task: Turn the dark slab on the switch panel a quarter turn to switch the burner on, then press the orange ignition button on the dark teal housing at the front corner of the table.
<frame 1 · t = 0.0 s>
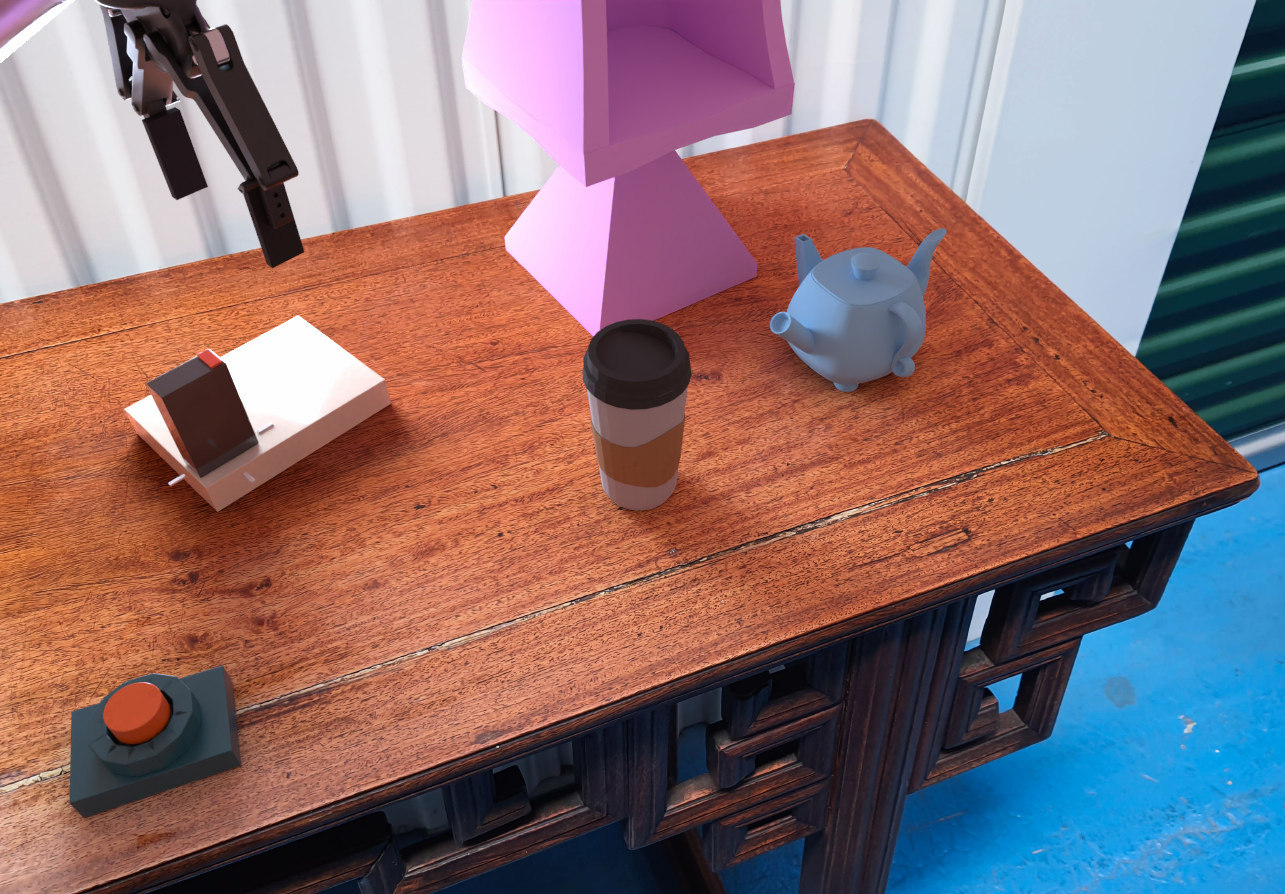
hand: (236, 224, 76), 21 cm above the table, tool pointing down, fingers open, 13 cm apart
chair: (628, 264, 108), on the table
ignition button: (137, 713, 65), point 4 cm above the table, slide at 0.1 cm
teapot: (844, 355, 97), on the table
switch panel: (265, 418, 91), on the table
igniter: (161, 746, 68), on the table
dark slab: (204, 413, 80), point 8 cm above the table, hinge at 0.0°
coffee cup: (639, 486, 85), on the table
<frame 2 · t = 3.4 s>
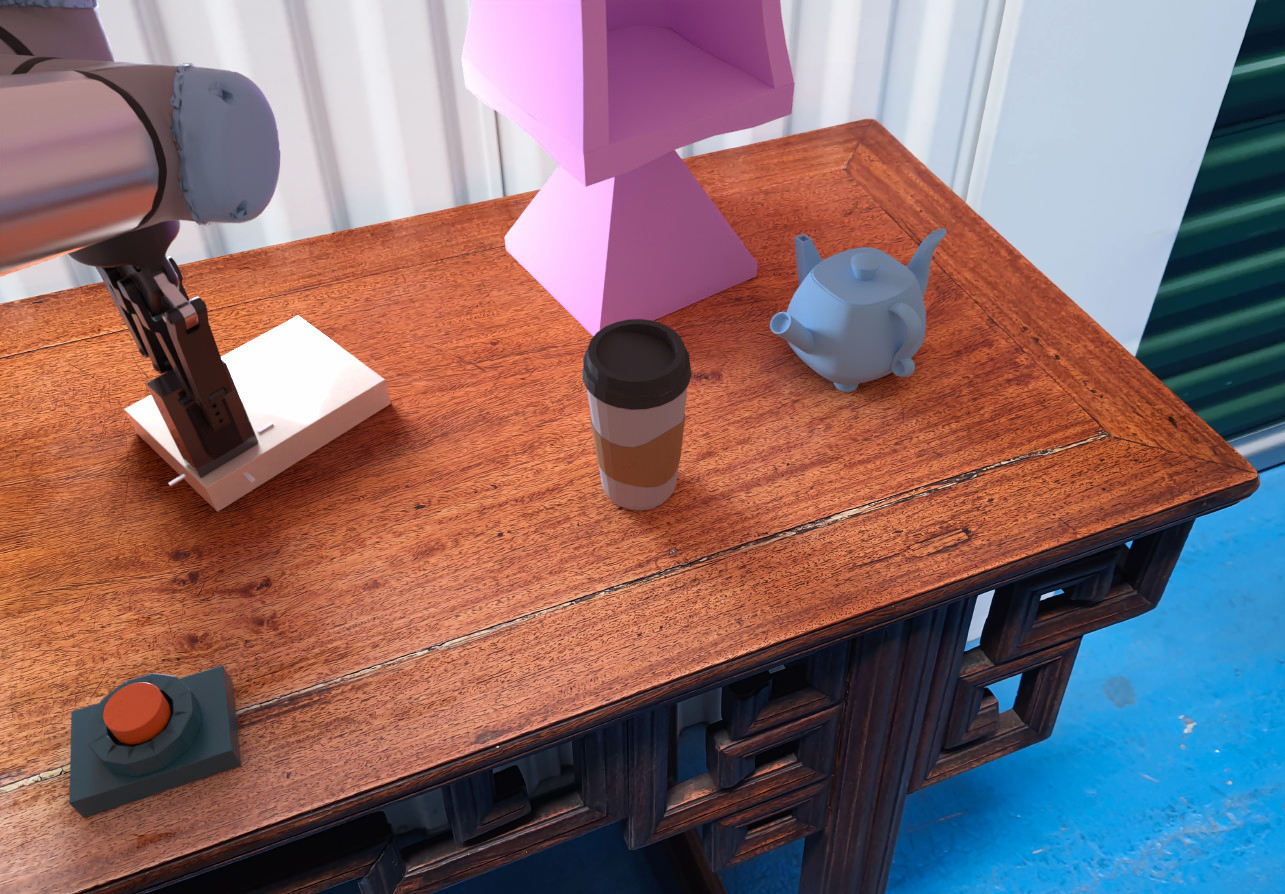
hand: (216, 439, 82), 5 cm above the table, tool pointing down, fingers closed on dark slab, 2 cm apart
dark slab: (204, 413, 80), point 8 cm above the table, hinge at -0.1°, touching gripper
everything else where it was.
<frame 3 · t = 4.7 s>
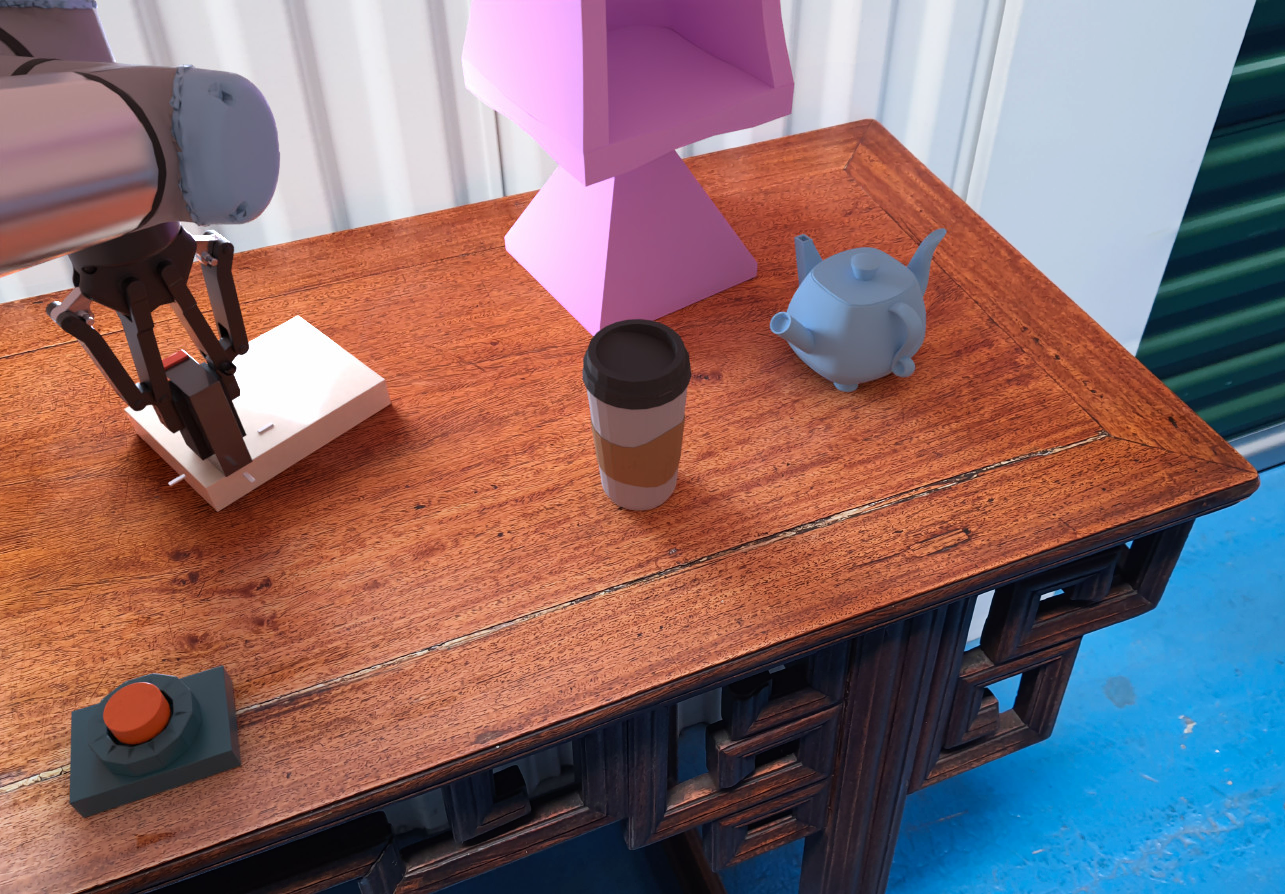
hand: (216, 439, 82), 5 cm above the table, tool pointing down, fingers closed on dark slab, 2 cm apart
dark slab: (204, 413, 80), point 8 cm above the table, hinge at 89.5°, touching gripper
everything else where it was.
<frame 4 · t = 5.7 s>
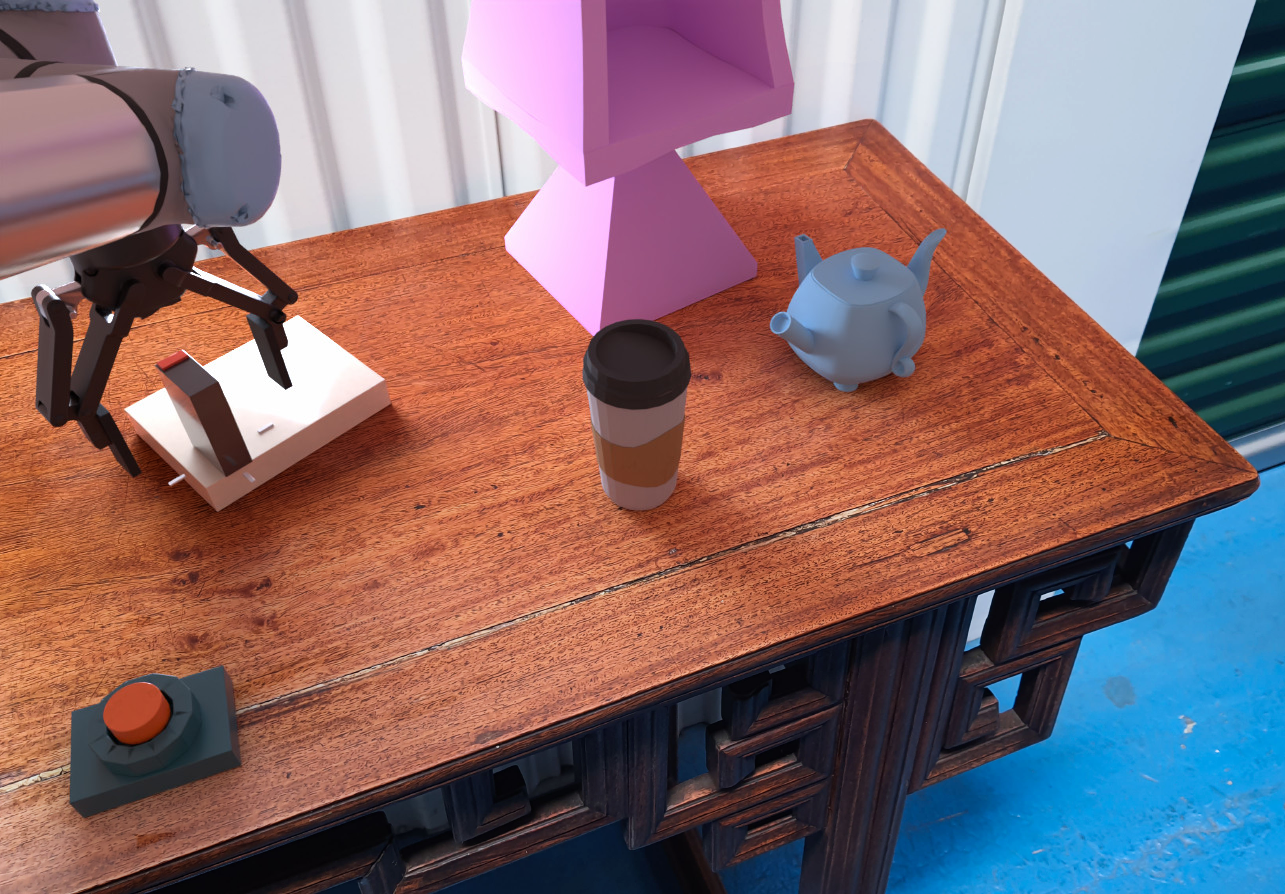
hand: (208, 422, 81), 7 cm above the table, tool pointing down, fingers open, 13 cm apart
dark slab: (204, 413, 80), point 8 cm above the table, hinge at 89.6°
everything else where it was.
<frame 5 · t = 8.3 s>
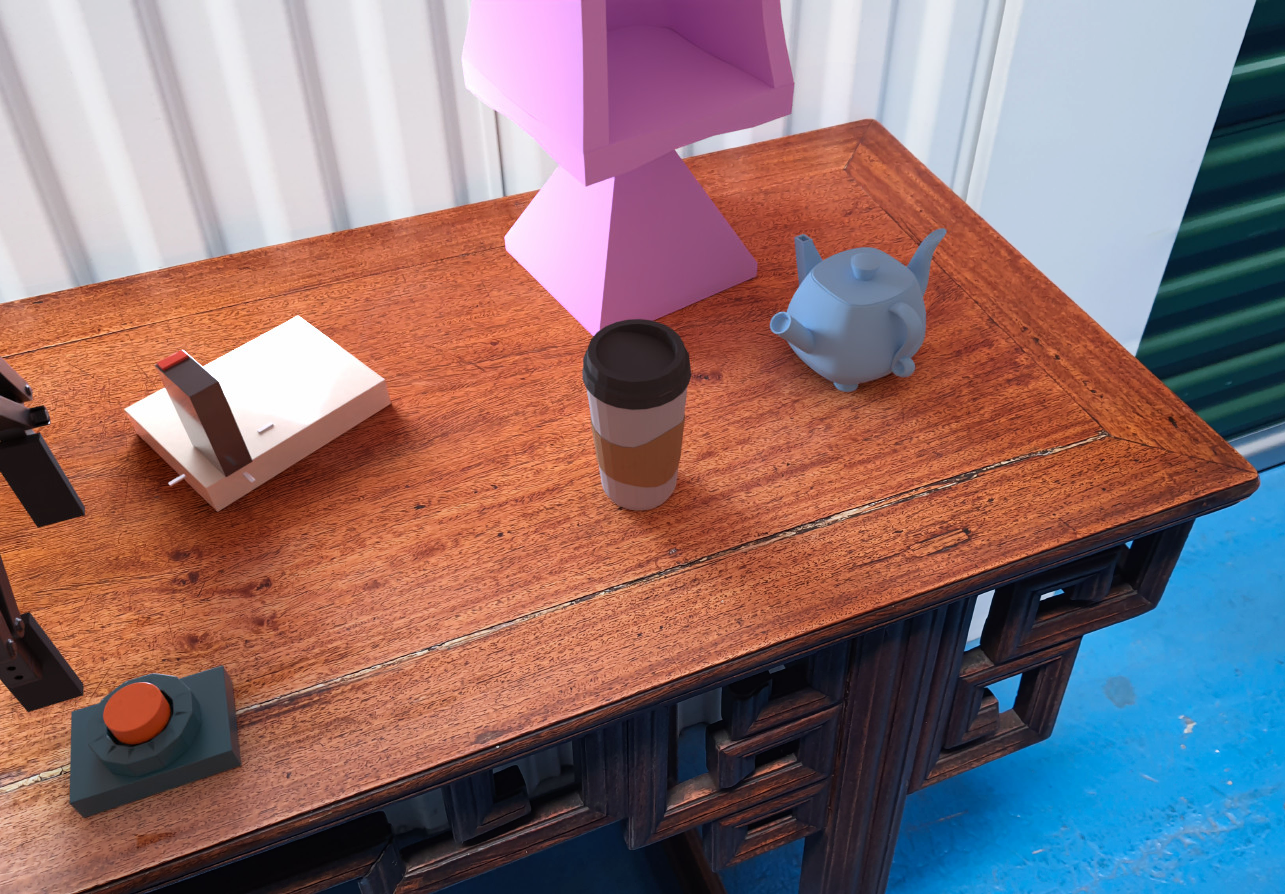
hand: (59, 601, 57), 16 cm above the table, tool pointing down, fingers open, 13 cm apart
nothing on the table moved.
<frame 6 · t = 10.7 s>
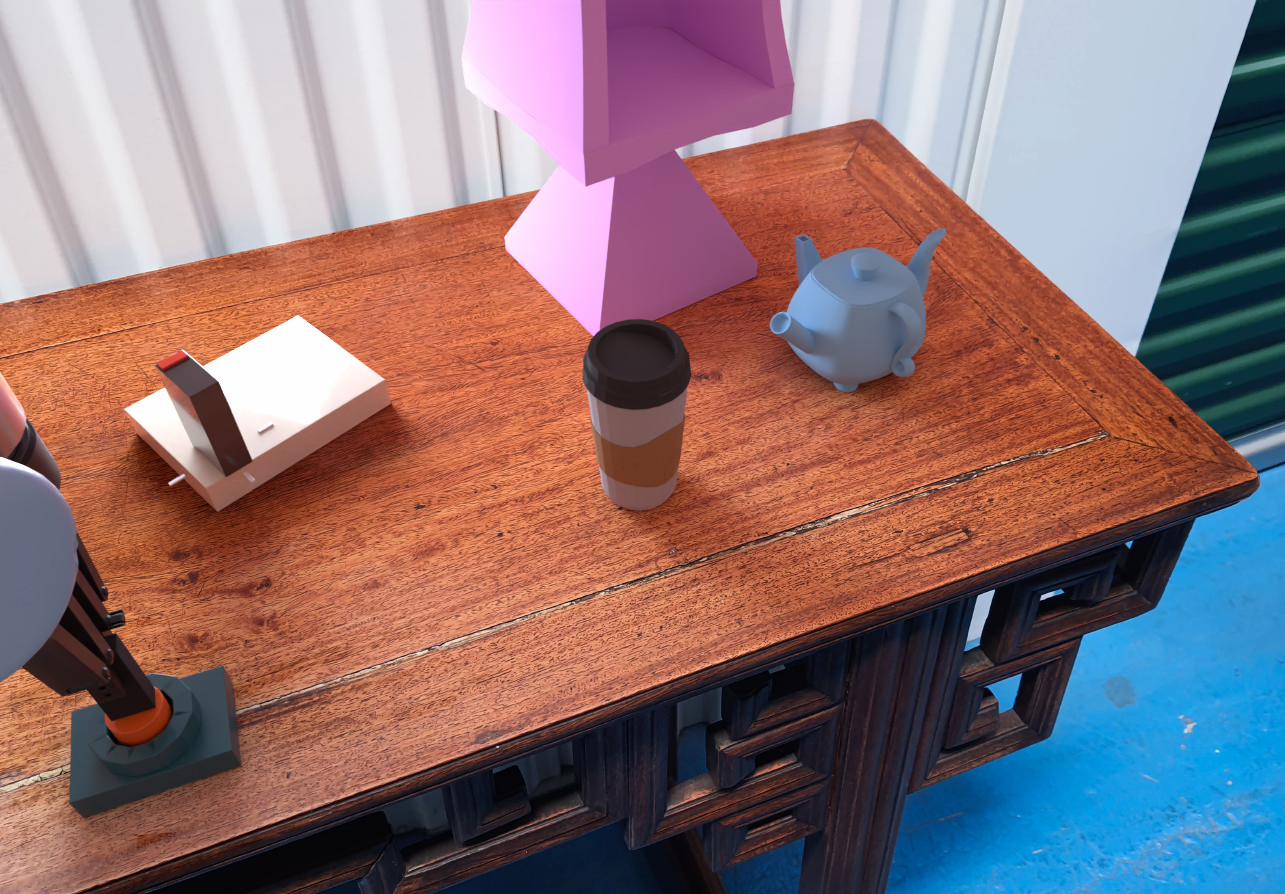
hand: (133, 704, 64), 5 cm above the table, tool pointing down, fingers closed
ignition button: (138, 715, 65), point 4 cm above the table, slide at -0.1 cm, touching gripper
everything else where it was.
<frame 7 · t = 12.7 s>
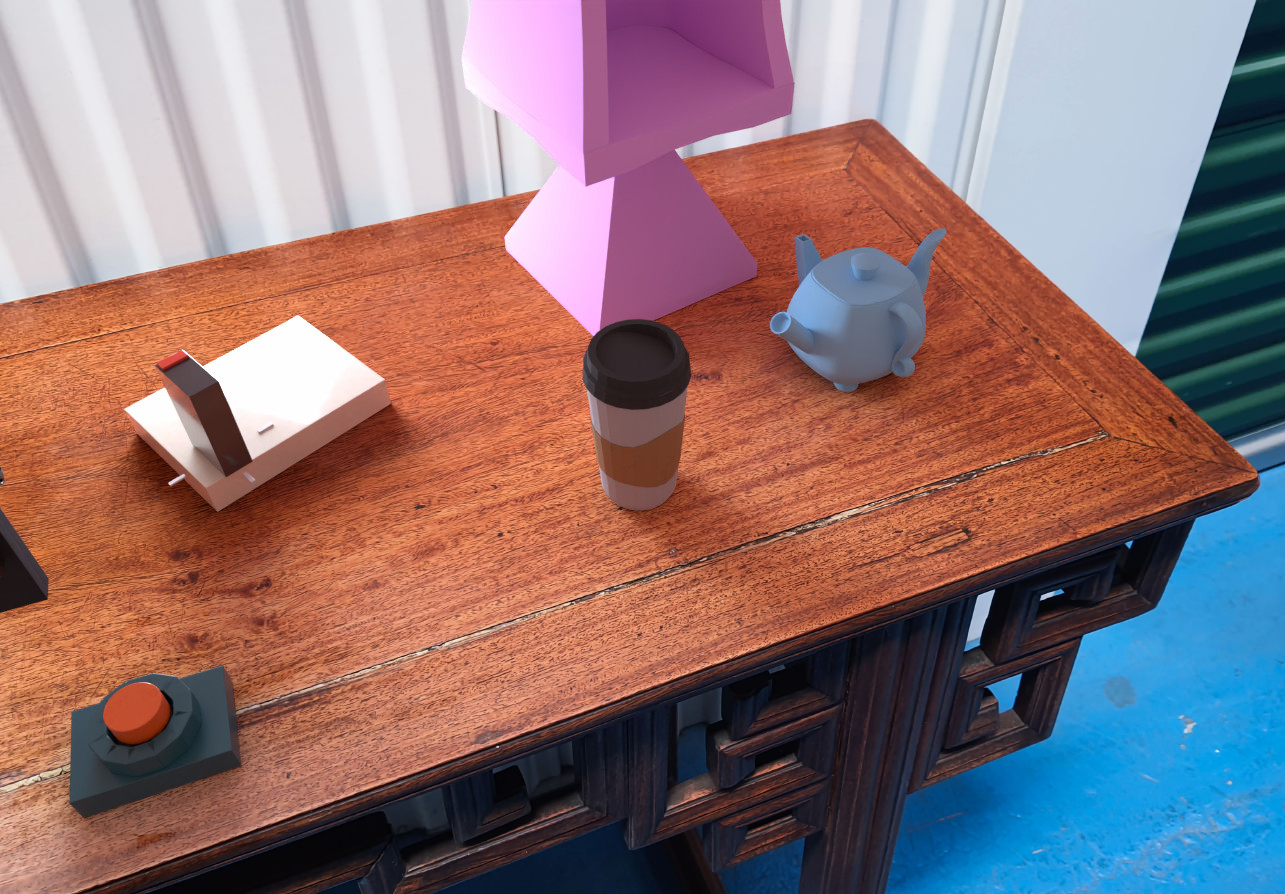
hand: (19, 596, 51), 21 cm above the table, tool pointing down, fingers closed
ignition button: (137, 713, 65), point 4 cm above the table, slide at 0.1 cm
everything else where it was.
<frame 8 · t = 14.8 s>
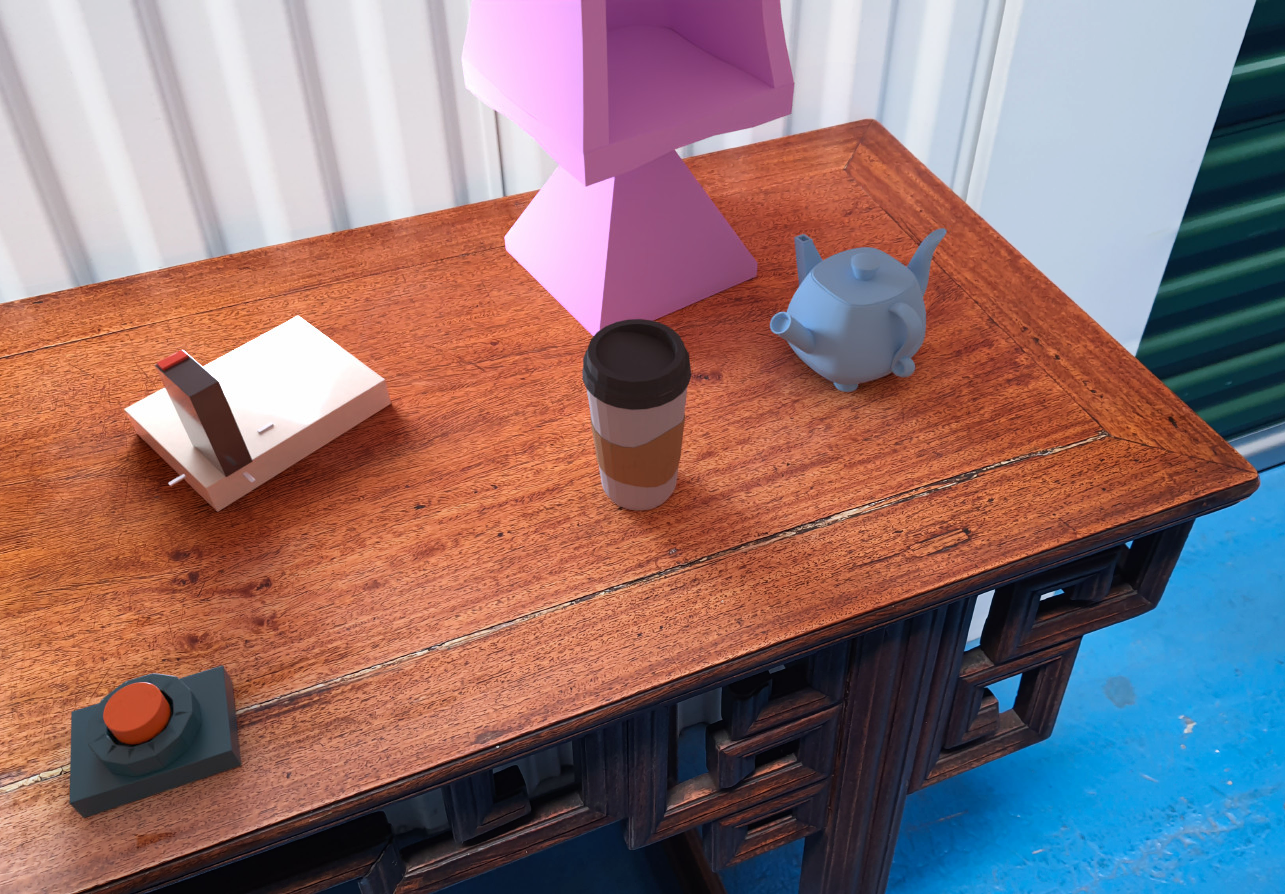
nothing on the table moved.
at the end: dark slab at +90° (first picture: +0°); ignition button pushed in 1.0 cm at the most during the clip, back to where it started at the end; ignition button slide at 0.1 cm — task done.
